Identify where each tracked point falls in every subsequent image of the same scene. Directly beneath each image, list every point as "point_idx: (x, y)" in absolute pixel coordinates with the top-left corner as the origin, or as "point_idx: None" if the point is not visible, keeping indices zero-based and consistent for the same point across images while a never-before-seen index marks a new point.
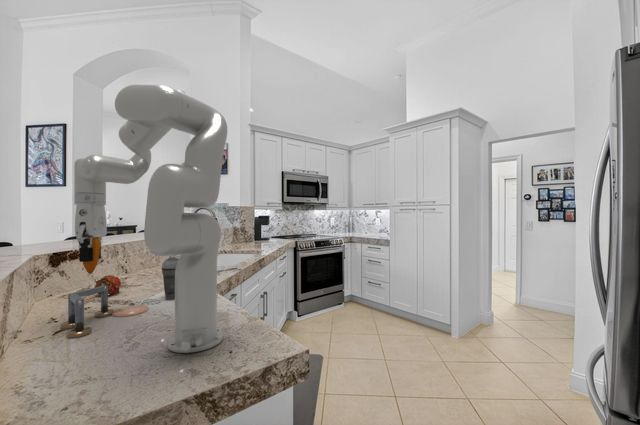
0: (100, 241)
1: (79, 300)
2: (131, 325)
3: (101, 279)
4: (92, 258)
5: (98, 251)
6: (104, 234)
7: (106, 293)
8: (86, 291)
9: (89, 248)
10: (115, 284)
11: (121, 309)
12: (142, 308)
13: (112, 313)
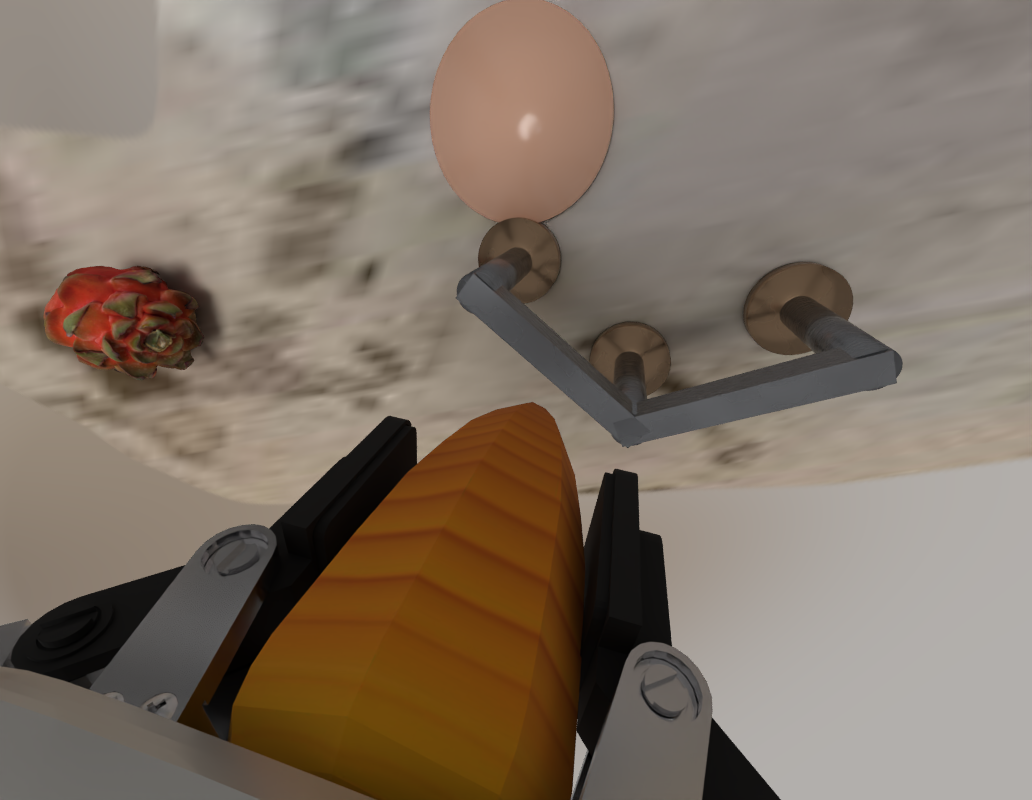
0: (194, 590)
1: (892, 369)
2: (832, 55)
3: (122, 361)
4: (634, 487)
5: (492, 491)
6: (21, 749)
7: (501, 270)
8: (587, 373)
9: (627, 638)
10: (132, 287)
11: (486, 185)
12: (517, 45)
13: (544, 219)
